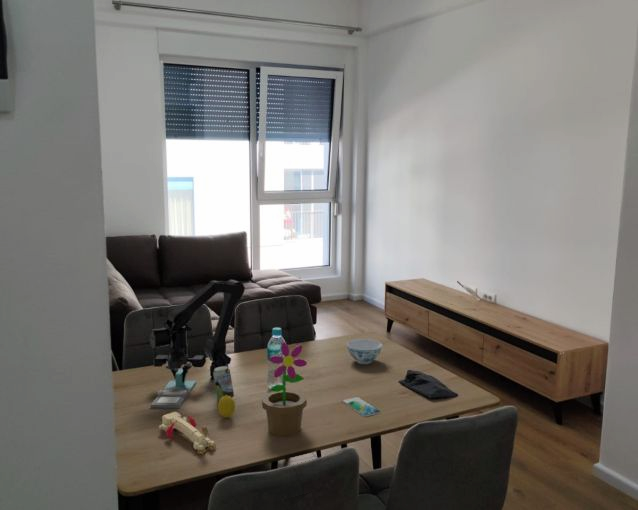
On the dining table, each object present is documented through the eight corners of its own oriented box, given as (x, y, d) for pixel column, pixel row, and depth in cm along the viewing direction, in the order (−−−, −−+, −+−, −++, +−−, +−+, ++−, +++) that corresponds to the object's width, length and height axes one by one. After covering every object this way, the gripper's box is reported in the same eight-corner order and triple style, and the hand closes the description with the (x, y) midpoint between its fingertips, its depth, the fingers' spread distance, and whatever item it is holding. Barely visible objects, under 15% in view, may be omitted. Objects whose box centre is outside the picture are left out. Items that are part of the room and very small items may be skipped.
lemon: (227, 423, 187) (227, 399, 186) (214, 419, 190) (214, 396, 189) (238, 416, 192) (238, 394, 191) (225, 413, 195) (225, 390, 194)
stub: (195, 383, 221) (195, 368, 221) (191, 389, 215) (190, 374, 214) (170, 382, 222) (169, 368, 221) (165, 389, 215) (164, 374, 214)
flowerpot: (270, 442, 174) (269, 347, 170) (256, 423, 187) (254, 334, 182) (313, 434, 180) (313, 342, 175) (297, 415, 193) (296, 329, 188)
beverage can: (230, 403, 202) (229, 371, 201) (211, 402, 204) (210, 369, 202) (236, 397, 208) (236, 365, 207) (217, 395, 210) (216, 364, 208)
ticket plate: (191, 390, 215) (191, 383, 214) (179, 408, 199) (178, 401, 198) (164, 389, 215) (164, 383, 215) (150, 407, 199) (150, 400, 199)
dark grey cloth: (425, 403, 204) (425, 390, 204) (395, 381, 225) (396, 370, 224) (461, 397, 210) (462, 385, 209) (429, 377, 230) (430, 365, 229)
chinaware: (383, 367, 239) (383, 350, 238) (347, 367, 239) (347, 349, 238) (380, 355, 254) (380, 339, 253) (346, 355, 254) (346, 338, 253)
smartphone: (357, 396, 208) (381, 411, 196) (357, 398, 209) (381, 414, 196) (340, 399, 205) (364, 415, 192) (340, 402, 205) (364, 418, 192)
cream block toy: (221, 450, 172) (179, 417, 190) (222, 424, 170) (179, 393, 188) (192, 462, 165) (151, 427, 183) (193, 434, 164) (151, 402, 181)
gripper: (147, 349, 208) (149, 390, 211) (198, 350, 207) (199, 391, 210) (157, 340, 219) (158, 379, 222) (205, 340, 218) (206, 380, 221)
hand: (180, 382), depth 218 cm, fingers closed on stub, 2 cm apart
